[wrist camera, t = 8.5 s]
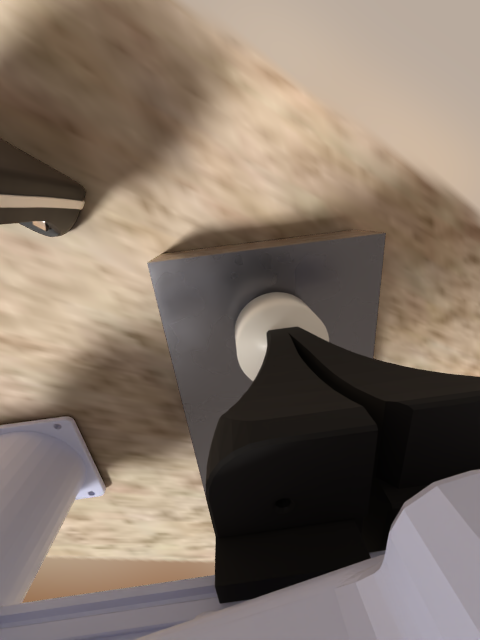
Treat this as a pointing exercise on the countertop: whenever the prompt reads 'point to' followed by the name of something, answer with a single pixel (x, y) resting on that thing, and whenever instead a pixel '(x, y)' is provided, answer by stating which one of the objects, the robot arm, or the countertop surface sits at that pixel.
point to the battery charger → (37, 194)
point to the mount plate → (245, 285)
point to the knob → (270, 326)
